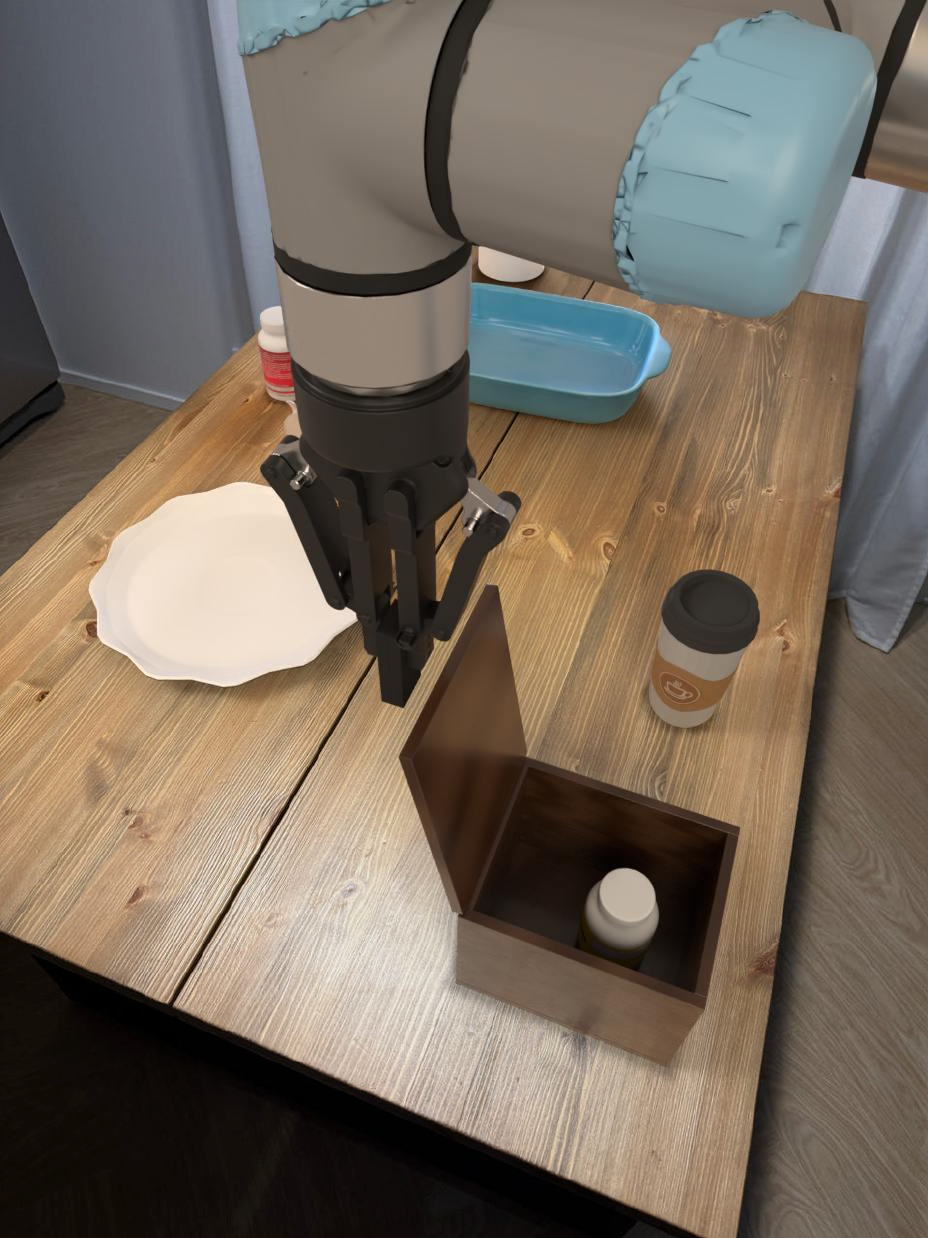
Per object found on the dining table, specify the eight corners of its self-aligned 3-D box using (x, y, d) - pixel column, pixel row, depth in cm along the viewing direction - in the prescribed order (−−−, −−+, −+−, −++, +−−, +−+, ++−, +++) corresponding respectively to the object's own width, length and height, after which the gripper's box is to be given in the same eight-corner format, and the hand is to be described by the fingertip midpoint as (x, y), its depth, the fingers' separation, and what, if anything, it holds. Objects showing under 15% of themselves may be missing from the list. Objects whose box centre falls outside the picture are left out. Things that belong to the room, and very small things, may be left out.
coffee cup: (622, 711, 86) (648, 608, 75) (661, 656, 91) (691, 551, 79) (701, 753, 83) (741, 653, 72) (737, 694, 88) (780, 591, 76)
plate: (39, 605, 94) (31, 590, 92) (243, 465, 110) (240, 450, 108) (232, 749, 83) (227, 735, 81) (429, 571, 98) (429, 555, 96)
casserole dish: (374, 397, 119) (370, 350, 114) (429, 315, 134) (428, 269, 128) (646, 453, 112) (656, 406, 107) (673, 360, 127) (684, 314, 121)
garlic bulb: (327, 437, 114) (321, 383, 108) (352, 463, 110) (347, 409, 104) (281, 454, 111) (271, 401, 105) (304, 482, 108) (296, 428, 102)
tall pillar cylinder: (549, 254, 147) (564, 85, 128) (537, 285, 140) (552, 112, 121) (486, 245, 148) (492, 78, 129) (471, 276, 141) (475, 104, 122)
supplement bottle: (589, 902, 73) (606, 846, 65) (653, 931, 71) (677, 877, 64) (564, 961, 69) (578, 910, 62) (630, 993, 68) (652, 944, 61)
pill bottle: (312, 402, 119) (301, 327, 110) (265, 404, 118) (251, 328, 110) (313, 375, 123) (303, 301, 114) (268, 377, 122) (255, 302, 114)
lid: (498, 584, 55) (486, 582, 55) (411, 759, 47) (397, 756, 47) (527, 752, 67) (517, 750, 68) (463, 915, 59) (451, 911, 59)
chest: (702, 901, 74) (740, 827, 64) (666, 1067, 65) (704, 1010, 56) (512, 834, 77) (522, 754, 68) (455, 983, 69) (457, 916, 59)
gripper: (556, 334, 38) (521, 674, 56) (284, 275, 41) (333, 616, 58) (497, 435, 33) (479, 771, 51) (194, 360, 36) (277, 702, 54)
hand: (401, 688), depth 55 cm, fingers closed
